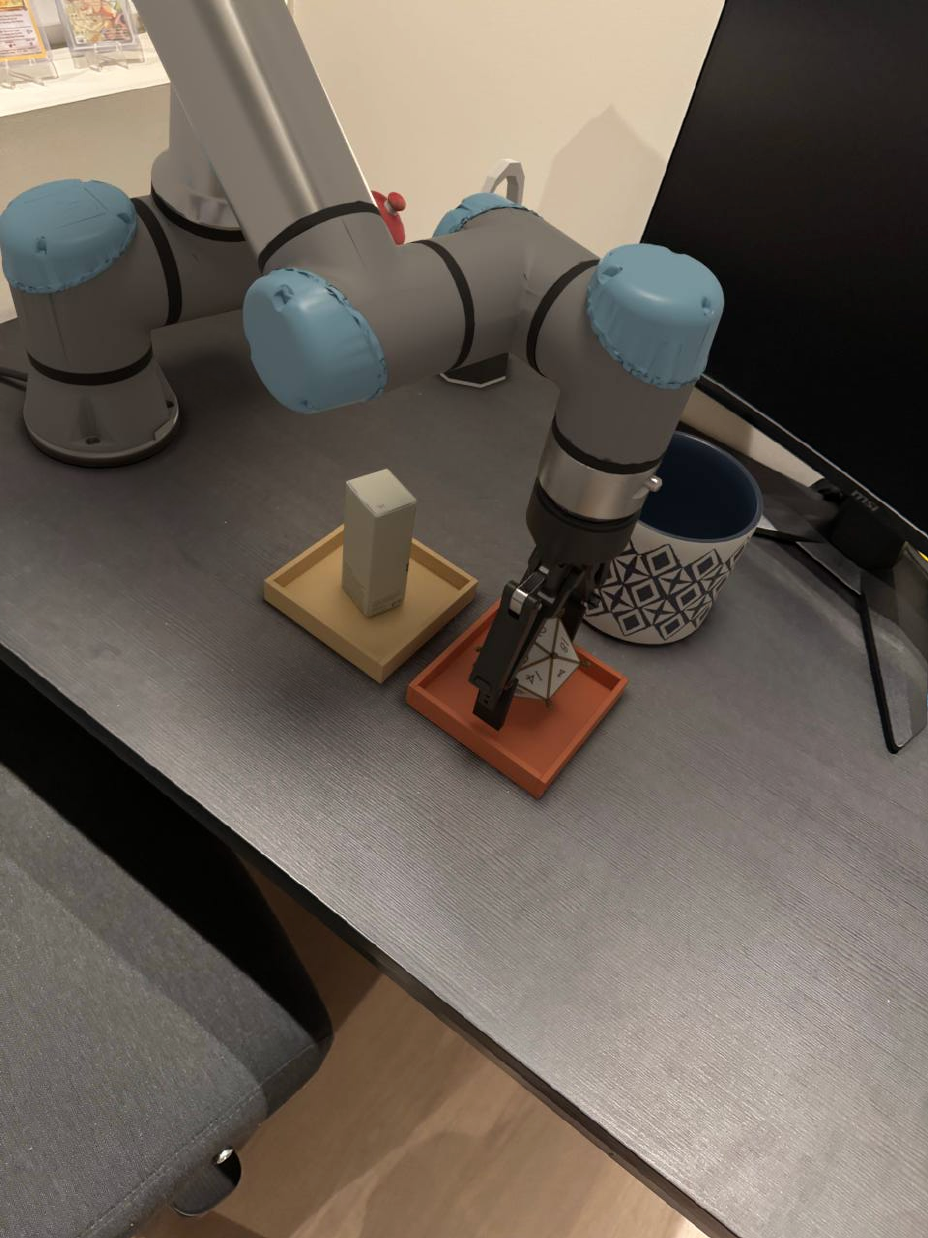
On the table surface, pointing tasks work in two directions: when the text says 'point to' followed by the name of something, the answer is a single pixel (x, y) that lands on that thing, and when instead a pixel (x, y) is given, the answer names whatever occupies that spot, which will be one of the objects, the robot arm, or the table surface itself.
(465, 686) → the terracotta tray
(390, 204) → the decorative ornament
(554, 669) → the game die
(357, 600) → the box
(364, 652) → the birch tray
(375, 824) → the table surface
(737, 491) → the planter
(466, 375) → the hook
